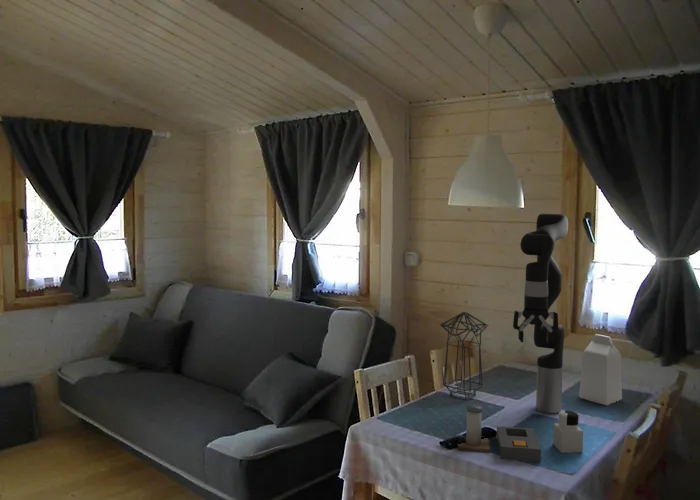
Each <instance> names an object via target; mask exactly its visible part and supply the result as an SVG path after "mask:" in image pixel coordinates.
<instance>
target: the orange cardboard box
mask: <svg viewBox="0 0 700 500" xmlns="http://www.w3.org/2000/svg"><path fill="white" fill-rule="evenodd" d="M513 446H514V447H527V446H526V442H525V441H517V440H513Z"/></svg>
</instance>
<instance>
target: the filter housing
mask: <svg viewBox="0 0 700 500" xmlns="http://www.w3.org/2000/svg"><path fill="white" fill-rule="evenodd" d="M495 436H496V441H497V448H498V451H499V452H498V453H499V457H500V460H507V461H508V460H510V461H522V462H523V461H525V462H539V463H541V462H542V449H541V445H540V442H539V440H538V437H537V435H536V432H535V430H534V428H533V427H532V428H531V427H530V428H529V427H517V426H516V427H513V426H499V425H497V426H496V434H495ZM513 440H517V441H525V442H526V446H527V447H514V446H513Z"/></svg>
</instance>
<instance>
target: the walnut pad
mask: <svg viewBox="0 0 700 500" xmlns="http://www.w3.org/2000/svg"><path fill="white" fill-rule="evenodd" d="M458 436H462V435H459V434H458V435H457V437H458ZM457 450H458V451H461V452H462V451H464V452H476V453H477V452H478V453H479V452H480V453H490V452H491V447H490V441H489V437H488V438H484V439H481V444H479V445H471V444H468V443H467V442H466V443H461V444H458V443H457Z"/></svg>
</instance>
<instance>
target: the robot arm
mask: <svg viewBox="0 0 700 500" xmlns="http://www.w3.org/2000/svg"><path fill="white" fill-rule="evenodd" d="M535 228H536V230H535V231H530V232H527V233H525V234H524V235H523V237H522V238H521V240H520V244H519V245H520V250H521V252H522V253H523V254H525V255H527V256H536V261H533V262H529V263H527V264H526V266H525V283H524V298H523V299H524V301H523V302H524V303H523V304H524V305H523V311H518V310H514V312H513V320H512V327H513V329H514V330H517V331H518V340H519V341H520V343H524V329H526V327H528V326H529V325H532V326H533V327H534V329H533V343H534V346H536V347H537V348H542V349H543V348H544V349H553V352H550V353H548V354H543V355H540V356H538V357H537V360H536V397H535V409H536V410H537V411H539V412H542V413H546V414H557V413H558V414H559V412H561V411H562V402H563V401H562V399H563V398H562V396H563V395H562V394H563V392H562V391H563V390H562V389H563V366H564V365H563V361H564V344H565V329H564V327H563V325H561V324H559V314H558V312H557V311H555V310H553V311H551V312H549V310H550V308H551V307H552V305H553V304H554V303H555V302H556V300H557V299H558V298H559V295H560V293H561V292H562V287H563V286H562V283H563V282H562V281H563V274H562V270H561V268H560V267H559V265H558V264H557V262H556V259H554V258H553V256H552V254H553V251H554V249H555V243H556V241H558V240H561V239H564V238H565V237H566V236H567V234H568V231H569V220H568V217H567V216H566V214H563V213H540V214H538V216H537V218H536V227H535ZM522 316H523V317H524V320H523V321H522V322H521V323H520V325H519V324H518V323H519V318H521V317H522ZM549 317H550V319H552V324H551V323H548V322H547V321H546V320H548V318H549Z"/></svg>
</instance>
